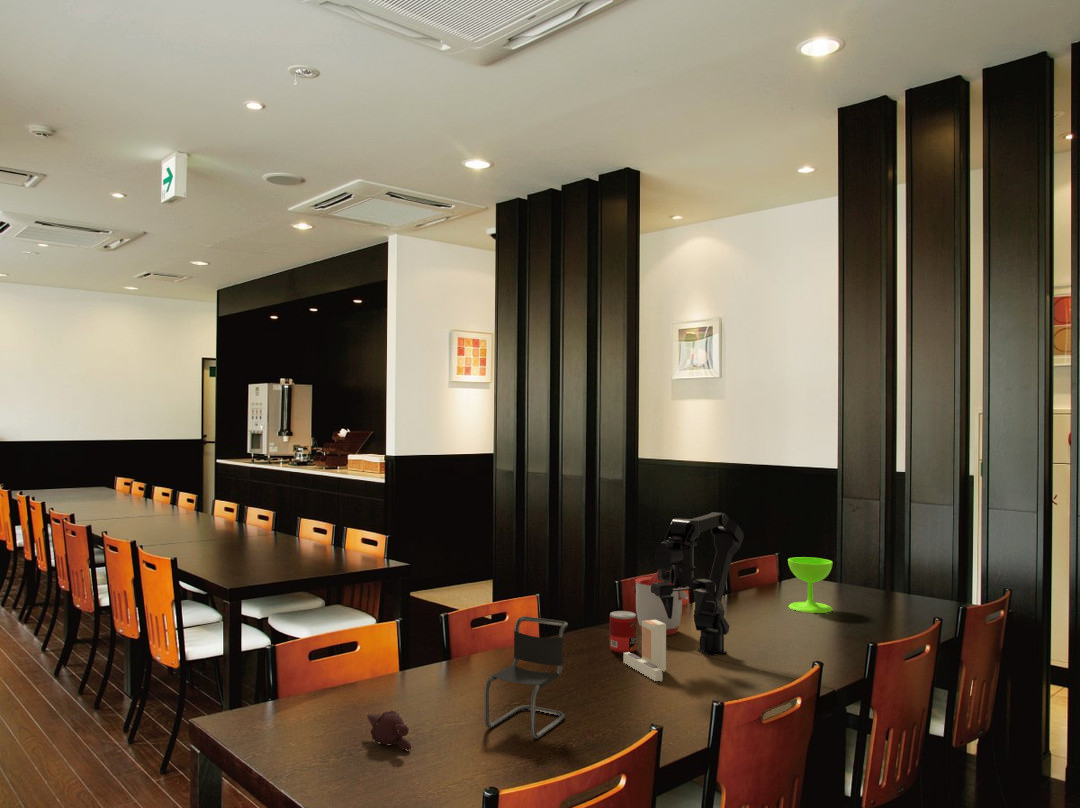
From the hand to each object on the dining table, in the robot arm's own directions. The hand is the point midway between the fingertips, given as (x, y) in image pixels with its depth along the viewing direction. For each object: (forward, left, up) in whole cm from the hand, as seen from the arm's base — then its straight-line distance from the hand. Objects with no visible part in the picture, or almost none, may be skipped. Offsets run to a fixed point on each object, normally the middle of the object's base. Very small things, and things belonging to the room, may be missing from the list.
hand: (683, 617), depth 227 cm
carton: (+11, +2, -13) cm, 17 cm away
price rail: (+15, +3, -13) cm, 20 cm away
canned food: (+10, -18, -13) cm, 24 cm away
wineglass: (-82, -41, -13) cm, 93 cm away
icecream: (+91, +26, -13) cm, 95 cm away
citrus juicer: (-12, -32, -13) cm, 37 cm away
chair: (+59, +27, -13) cm, 66 cm away
